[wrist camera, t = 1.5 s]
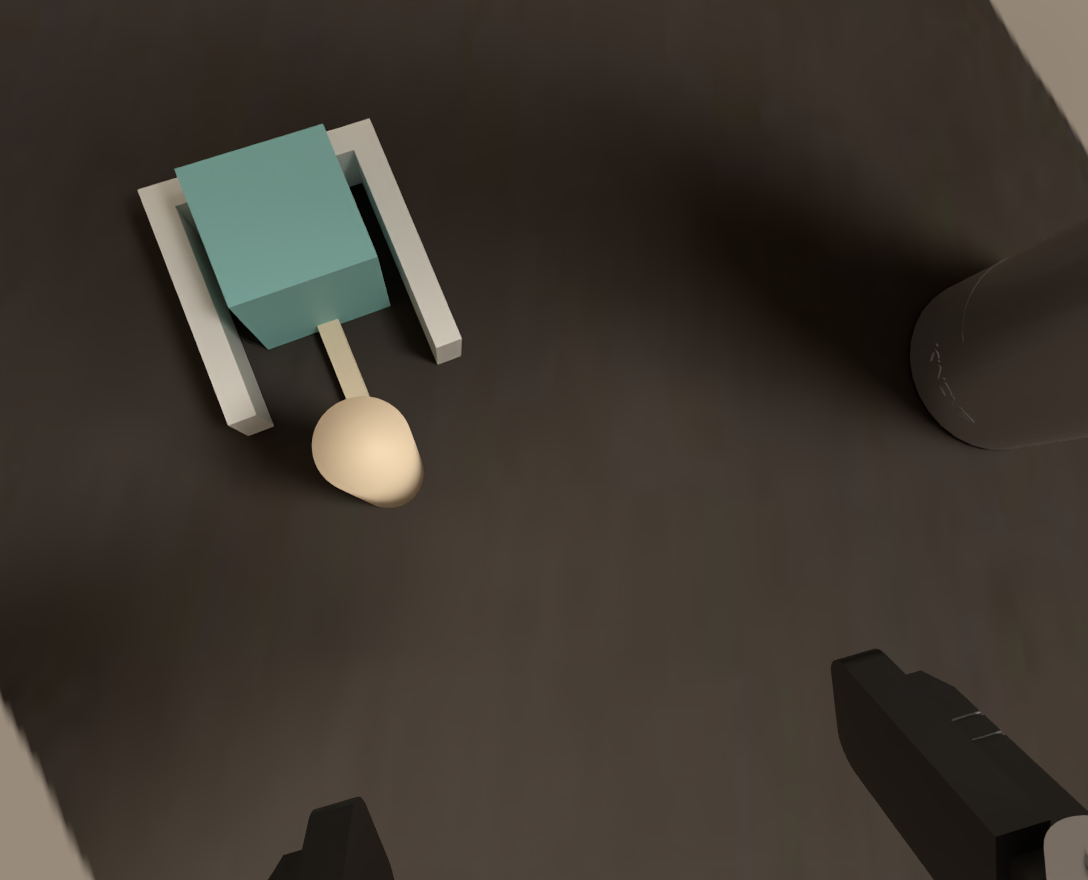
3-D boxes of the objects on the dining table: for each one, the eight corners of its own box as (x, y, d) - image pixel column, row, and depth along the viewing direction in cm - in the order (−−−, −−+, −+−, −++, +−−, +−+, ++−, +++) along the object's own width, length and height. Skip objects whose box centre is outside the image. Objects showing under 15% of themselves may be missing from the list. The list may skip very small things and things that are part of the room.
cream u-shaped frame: (376, 153, 35) (369, 118, 32) (460, 356, 34) (461, 338, 31) (165, 221, 33) (137, 189, 30) (248, 436, 32) (228, 425, 29)
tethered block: (344, 195, 35) (302, 57, 25) (462, 480, 33) (466, 455, 24) (223, 234, 34) (128, 107, 24) (339, 531, 32) (290, 526, 22)
